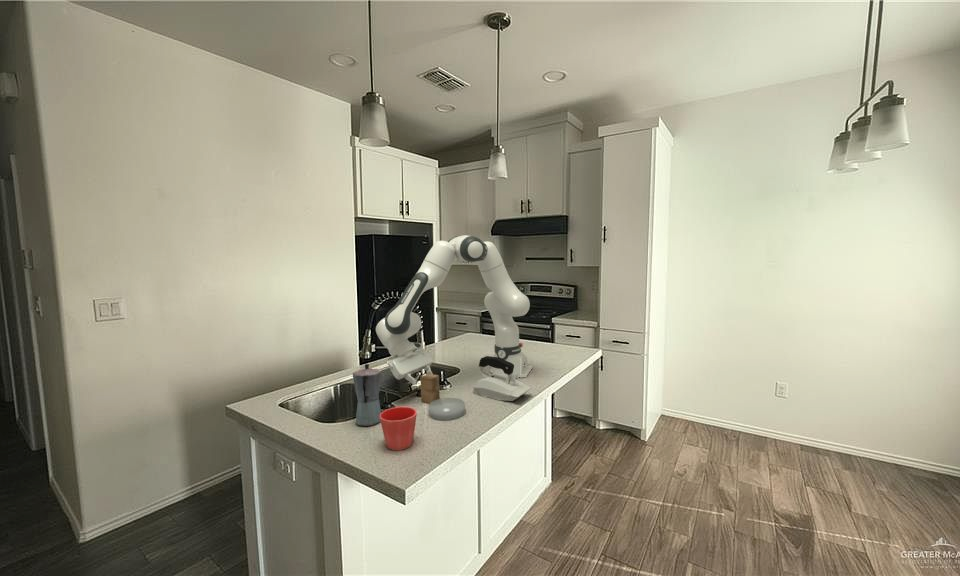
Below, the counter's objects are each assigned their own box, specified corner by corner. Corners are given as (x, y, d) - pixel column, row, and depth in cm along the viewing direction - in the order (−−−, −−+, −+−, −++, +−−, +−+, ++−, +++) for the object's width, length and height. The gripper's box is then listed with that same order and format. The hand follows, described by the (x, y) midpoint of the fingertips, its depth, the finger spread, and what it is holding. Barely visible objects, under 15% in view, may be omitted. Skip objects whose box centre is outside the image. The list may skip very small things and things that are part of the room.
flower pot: (394, 433, 123) (393, 404, 122) (424, 438, 118) (423, 408, 118) (373, 449, 113) (372, 417, 112) (405, 456, 109) (403, 423, 108)
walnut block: (429, 398, 152) (428, 373, 151) (439, 400, 149) (438, 375, 148) (421, 402, 147) (420, 377, 147) (431, 404, 145) (430, 379, 144)
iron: (518, 406, 141) (517, 366, 140) (466, 393, 155) (465, 358, 154) (532, 396, 150) (531, 359, 149) (481, 385, 164) (480, 351, 163)
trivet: (442, 403, 146) (442, 395, 146) (471, 409, 139) (471, 401, 139) (421, 416, 135) (421, 408, 135) (451, 423, 128) (451, 415, 128)
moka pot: (384, 411, 140) (381, 358, 138) (383, 429, 125) (380, 370, 124) (356, 414, 138) (353, 360, 136) (353, 433, 123) (349, 373, 121)
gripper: (388, 354, 143) (410, 383, 139) (423, 342, 160) (443, 368, 156) (380, 364, 146) (401, 393, 142) (415, 351, 163) (434, 377, 159)
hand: (423, 379), depth 149 cm, fingers open, 8 cm apart
